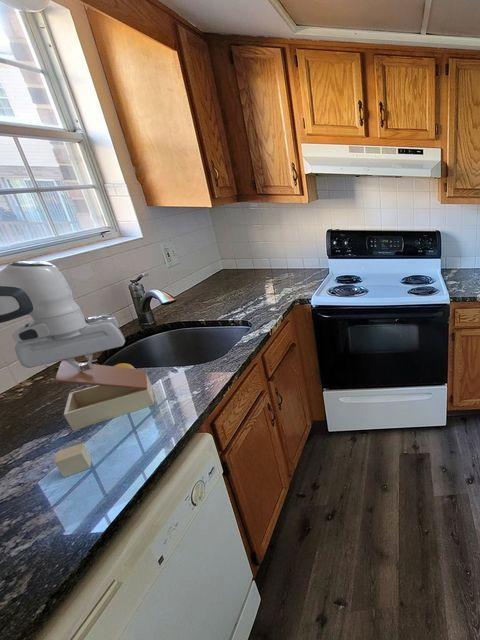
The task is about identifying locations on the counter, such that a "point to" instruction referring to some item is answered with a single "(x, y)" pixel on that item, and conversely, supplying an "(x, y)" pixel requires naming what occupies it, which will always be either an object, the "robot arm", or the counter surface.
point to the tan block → (73, 460)
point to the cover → (102, 376)
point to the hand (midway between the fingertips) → (86, 369)
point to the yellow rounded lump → (124, 365)
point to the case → (105, 403)
